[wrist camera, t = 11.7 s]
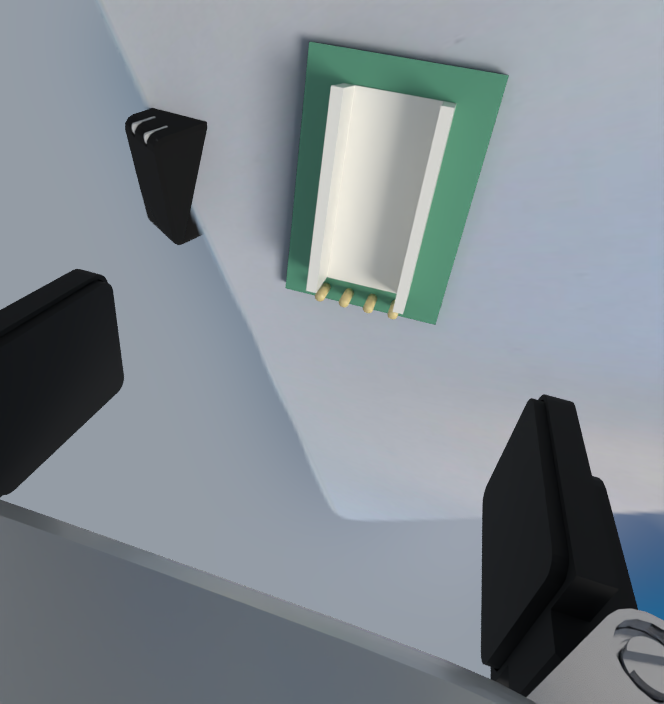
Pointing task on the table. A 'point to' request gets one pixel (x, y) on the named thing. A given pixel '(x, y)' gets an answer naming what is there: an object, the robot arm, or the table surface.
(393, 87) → the board
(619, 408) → the table surface
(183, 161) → the electronic device
